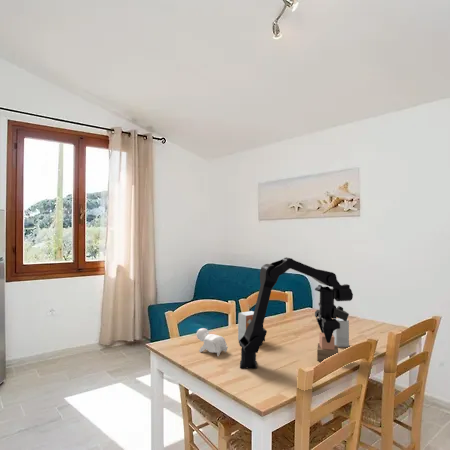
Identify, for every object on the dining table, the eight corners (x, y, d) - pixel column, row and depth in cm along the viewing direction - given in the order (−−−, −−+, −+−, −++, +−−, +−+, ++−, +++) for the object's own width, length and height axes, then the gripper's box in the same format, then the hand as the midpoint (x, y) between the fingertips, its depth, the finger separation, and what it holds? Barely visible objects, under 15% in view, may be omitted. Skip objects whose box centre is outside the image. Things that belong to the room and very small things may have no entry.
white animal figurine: (225, 357, 147) (201, 338, 155) (231, 341, 145) (207, 322, 153) (213, 363, 140) (189, 343, 149) (219, 346, 138) (194, 326, 147)
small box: (245, 344, 155) (246, 315, 155) (237, 340, 161) (237, 312, 161) (259, 340, 160) (259, 313, 160) (251, 337, 165) (251, 310, 165)
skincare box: (344, 343, 157) (345, 317, 157) (349, 347, 152) (349, 320, 152) (332, 344, 156) (332, 317, 156) (336, 347, 152) (336, 320, 152)
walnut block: (338, 364, 133) (338, 352, 133) (317, 362, 136) (317, 349, 136) (337, 357, 141) (337, 345, 141) (318, 355, 143) (318, 343, 143)
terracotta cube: (334, 349, 136) (334, 337, 136) (321, 349, 136) (321, 336, 136) (331, 345, 141) (331, 333, 141) (319, 344, 141) (319, 332, 141)
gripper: (353, 307, 129) (353, 348, 129) (340, 297, 148) (340, 333, 148) (324, 306, 130) (323, 347, 130) (314, 296, 149) (314, 332, 149)
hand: (326, 339), depth 139 cm, fingers open, 7 cm apart
